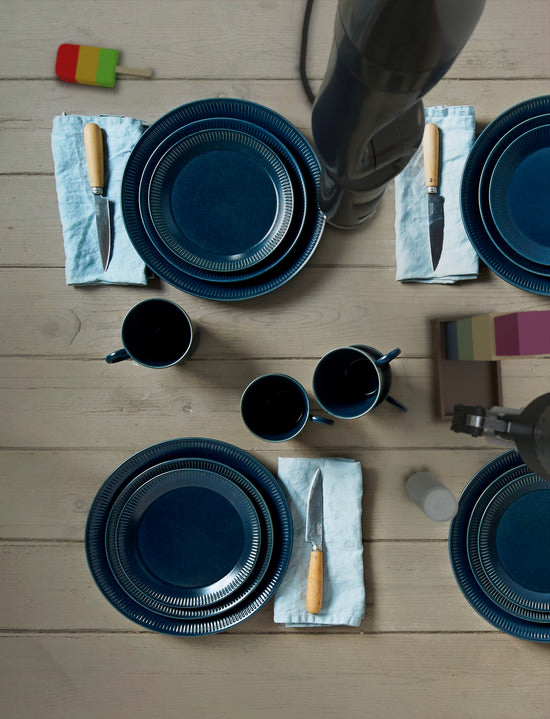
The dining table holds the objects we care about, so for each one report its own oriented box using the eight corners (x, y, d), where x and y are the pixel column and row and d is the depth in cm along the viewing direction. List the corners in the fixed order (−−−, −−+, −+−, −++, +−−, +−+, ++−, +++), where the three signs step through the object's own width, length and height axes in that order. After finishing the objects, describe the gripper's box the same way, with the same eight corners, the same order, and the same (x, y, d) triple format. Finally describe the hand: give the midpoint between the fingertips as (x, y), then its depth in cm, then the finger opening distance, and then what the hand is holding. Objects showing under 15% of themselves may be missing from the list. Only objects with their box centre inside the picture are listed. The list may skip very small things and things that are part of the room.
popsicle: (62, 47, 89) (57, 40, 88) (155, 59, 89) (152, 52, 87) (57, 82, 90) (52, 76, 88) (150, 94, 89) (147, 88, 87)
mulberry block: (493, 317, 66) (517, 311, 59) (533, 314, 66) (561, 309, 59) (496, 356, 66) (519, 355, 59) (535, 353, 66) (564, 353, 59)
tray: (430, 319, 87) (435, 318, 84) (490, 316, 87) (498, 314, 84) (436, 417, 87) (441, 419, 84) (496, 414, 87) (503, 416, 84)
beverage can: (400, 492, 87) (416, 513, 75) (414, 464, 87) (433, 481, 75) (427, 506, 87) (448, 530, 75) (442, 479, 87) (465, 498, 75)
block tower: (443, 323, 87) (489, 313, 66) (480, 321, 86) (537, 310, 66) (445, 360, 87) (491, 360, 66) (482, 358, 86) (540, 357, 66)
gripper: (697, 408, 41) (587, 404, 57) (498, 373, 42) (446, 379, 58) (682, 511, 41) (575, 478, 57) (482, 473, 42) (433, 451, 58)
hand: (510, 428), depth 57 cm, fingers open, 8 cm apart
